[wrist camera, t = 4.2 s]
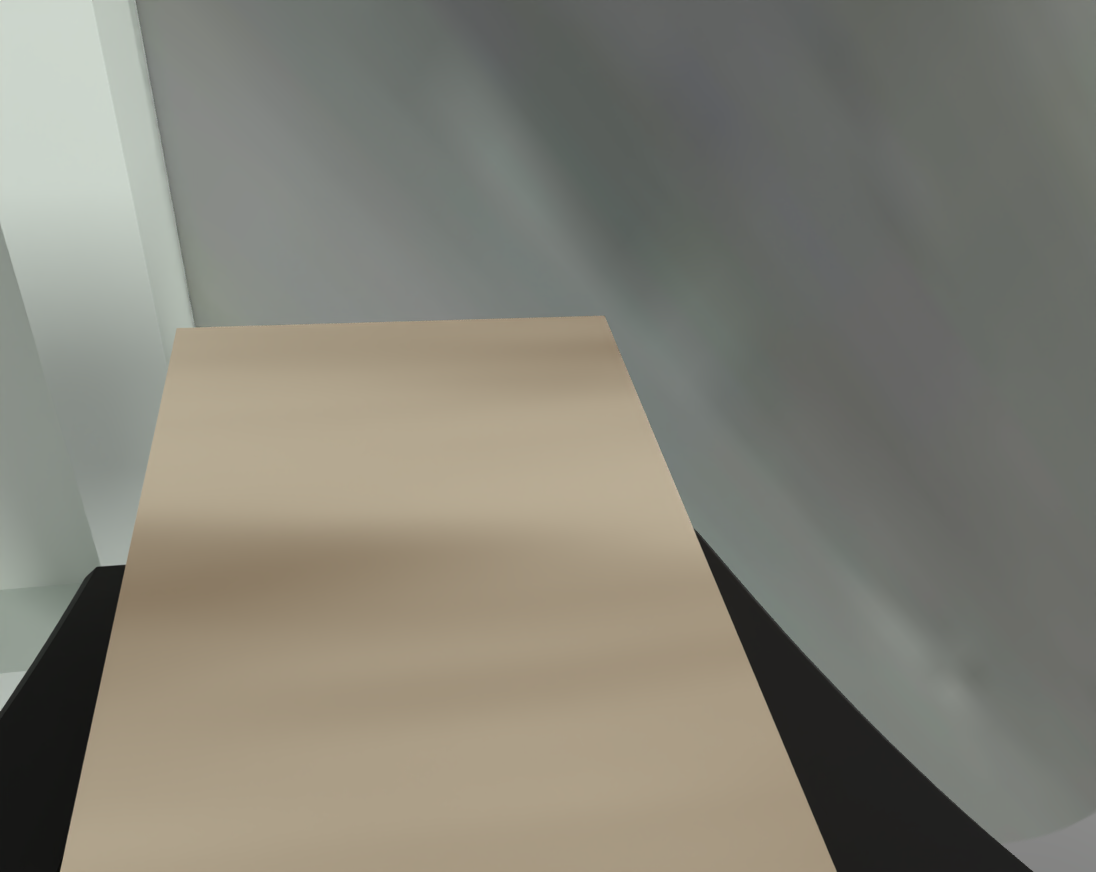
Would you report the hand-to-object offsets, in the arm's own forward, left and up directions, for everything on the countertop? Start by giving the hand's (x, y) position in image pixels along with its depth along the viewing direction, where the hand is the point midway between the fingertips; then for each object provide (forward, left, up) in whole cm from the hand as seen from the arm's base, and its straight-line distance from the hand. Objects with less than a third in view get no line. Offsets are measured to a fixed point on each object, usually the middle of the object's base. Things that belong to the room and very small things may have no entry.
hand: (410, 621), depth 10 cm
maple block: (0, 0, -2) cm, 2 cm away
